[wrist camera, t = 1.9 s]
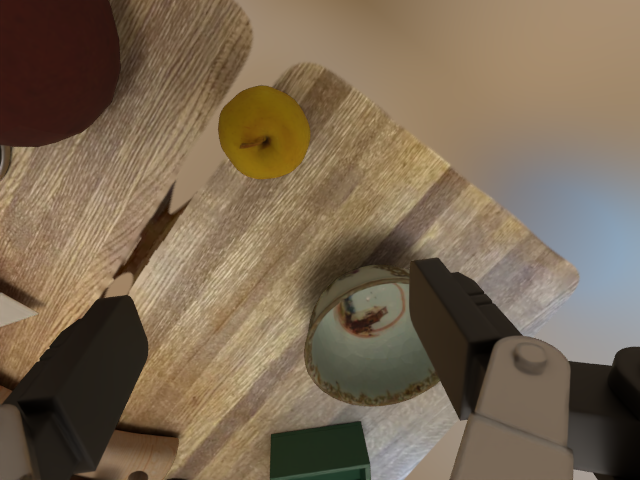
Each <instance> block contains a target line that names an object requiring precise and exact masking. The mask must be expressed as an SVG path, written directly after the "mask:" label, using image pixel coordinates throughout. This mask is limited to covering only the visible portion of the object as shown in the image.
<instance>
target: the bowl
mask: <svg viewBox="0 0 640 480" xmlns="http://www.w3.org/2000/svg"><path fill="white" fill-rule="evenodd" d="M304 358H305V365H306V368H307V371H308V373H309V375H310V377H311V379H312V380H313V381H314V383H315V384H316V385H317V386H318V387H319V388H320V389H321V390H322V391H323V392H325V393H327V394H328V395H330V396H331V397H333V398H335V399H338V400H340V401H343V402H345V403H349V404H352V405H359V406H385V405H390V404H396V403H400V402H403V401H406V400H409V399H412V398H414V397H416V396H418V395H420V394H421V393H423V392H425V391H427V390H428V389H430V388H431V387H433V386H434V385H436V384H437V383H438V382H439V381H440V379H439V377H438V375H437V373H436V371H435V369H434V367H433V365H432V363H431V361H430V359H429V357H428V355H427V353H426V351H425V349H424V347H423V345H422V343H421V341H420V339H419V337H418V335H417V333H416V331H415V329H414V327H413V324H412V321H411V318H410V312H409V270H407V269H404V268H401V267H397V266H392V265H369V266H365V267H361V268H357V269H354V270H352V271H349V272H347V273H345V274H344V275H342V276H340V277H339V278H338V279H336V280H335V281H334V282H333V283H332V284H330V285H329V287H328V288H327V289H326V290H325V291H324V292H323V293H322V295H321V297H320V298H319V300H318V301H317V303H316V305H315V307H314V310H313V312H312V316H311V319H310V324H309V330H308V335H307V339H306V342H305V349H304Z"/></svg>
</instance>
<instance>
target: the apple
mask: <svg viewBox="0 0 640 480" xmlns="http://www.w3.org/2000/svg"><path fill="white" fill-rule="evenodd" d="M218 132H219V139H220V144H221V147H222V149H223V151H224V152H225V154H226V155H227V157H228V158H229V159H230V161H231V162H232V164H233V165H234V166H235V167H236V169H237V170H238V171H240V172H241V173H242V174H244V175H246V176H248V177H251V178H255V179H270V178H277V177H281V176H283V175H286V174H288V173H290V172H292V171H293V170H294V169H296V167H297V166H298V165H300V163H301V162H302V161H303V159H304V157H305V154H306V152H307V149H308V146H309V142H310V127H309V123H308V121H307V119H306V117H305V115H304V113H303V111H302V109H301V108H300V106H299V105H298V104H297V102H296V101H295V100H294V99H293V98H292V97H290V96H289V95H287V94H285V93H283V92H281V91H279V90H276V89H274V88H272V87H269V86H256V87H252V88H248V89H246V90H243V91H242V92H240V93H239V94H238V95H236V96H235V97H234V98H233V99H232V100H231V101H230V102H229V103H228V104H227V105H226V106H225V107H224V108H223V110H222V111H221V113H220V117H219V126H218Z"/></svg>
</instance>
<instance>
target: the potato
mask: <svg viewBox="0 0 640 480" xmlns="http://www.w3.org/2000/svg"><path fill="white" fill-rule="evenodd" d="M120 69H121V64H120V48H119V37H118V33H117V29H116V25H115V21H114V17H113V14H112V10H111V6H110V3H109V1H108V0H0V145H5V146H12V147H40V146H44V145H48V144H52V143H56V142H59V141H61V140H63V139H66V138H68V137H71V136H73V135H76V134H78V133H81V132H83V131H84V130H85V129H86V128H88V127H89V126H90V125H91V124H93V122H94V121H95V120H96V119H97V118H98V117H99V116H100V115H101V114H102V112H103V111H104V110H105V109H106V108H107V107H108V106H109V105H110V103H111V102H112V100H113V96H114V92H115V89H116V85H117V81H118V77H119V73H120Z"/></svg>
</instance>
